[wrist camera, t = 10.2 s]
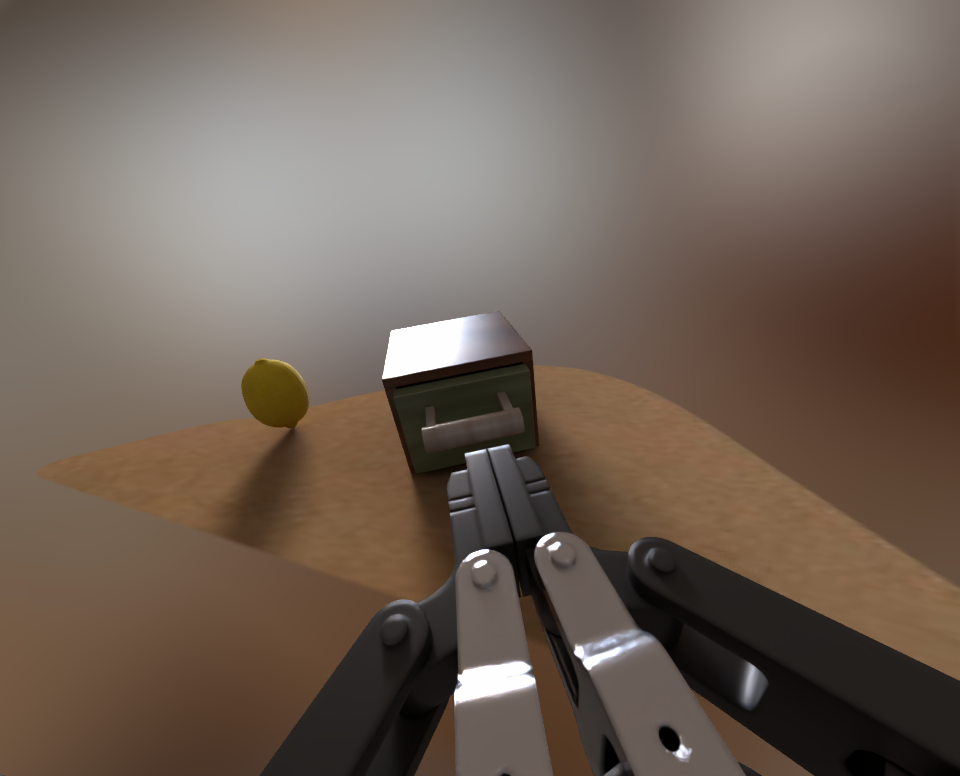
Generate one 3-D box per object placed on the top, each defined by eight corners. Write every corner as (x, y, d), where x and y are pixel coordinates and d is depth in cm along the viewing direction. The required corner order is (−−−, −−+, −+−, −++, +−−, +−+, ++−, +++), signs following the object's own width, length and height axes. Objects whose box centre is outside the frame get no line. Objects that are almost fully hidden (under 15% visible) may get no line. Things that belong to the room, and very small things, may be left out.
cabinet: (539, 446, 28) (532, 349, 24) (411, 474, 27) (381, 379, 23) (508, 387, 38) (499, 310, 33) (412, 407, 37) (390, 330, 33)
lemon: (291, 411, 40) (261, 347, 36) (330, 413, 38) (303, 346, 34) (252, 441, 35) (212, 372, 31) (294, 445, 33) (257, 372, 30)
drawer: (555, 485, 23) (551, 399, 20) (416, 518, 22) (388, 434, 19) (507, 391, 35) (500, 327, 32) (415, 410, 34) (398, 346, 31)
